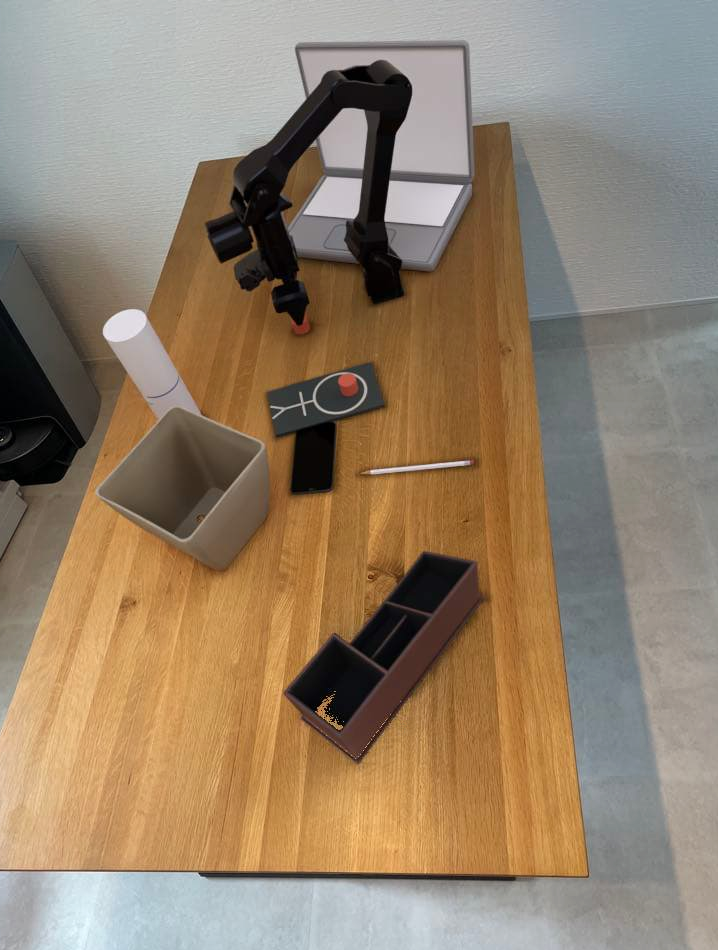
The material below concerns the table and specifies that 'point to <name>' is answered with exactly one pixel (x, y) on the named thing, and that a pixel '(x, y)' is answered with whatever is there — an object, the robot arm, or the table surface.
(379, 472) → the pencil
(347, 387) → the dot
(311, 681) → the desk organizer
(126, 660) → the table surface
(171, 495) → the flower pot
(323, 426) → the smartphone
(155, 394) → the cylindrical container
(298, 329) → the dot
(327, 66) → the laptop
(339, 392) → the board
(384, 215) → the robot arm
